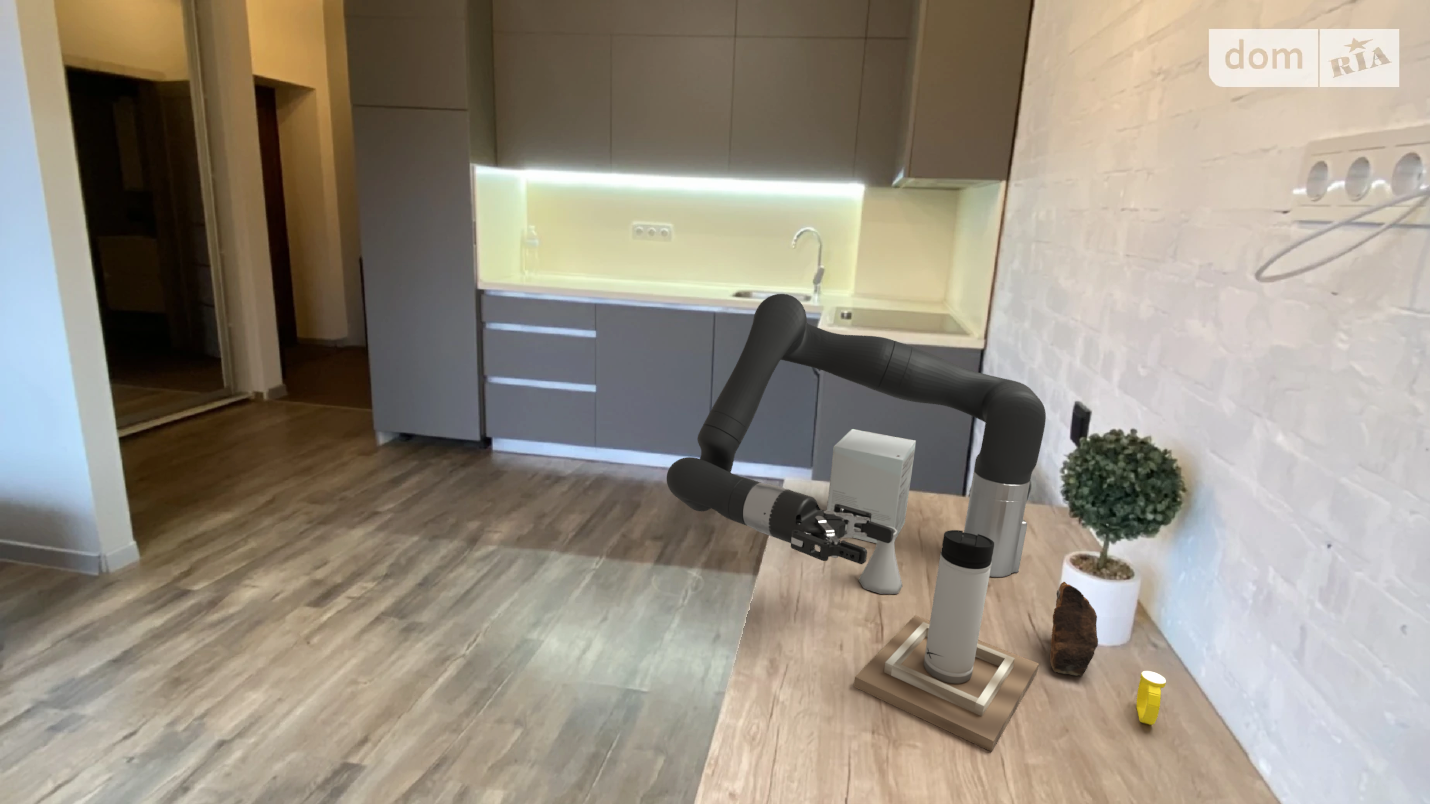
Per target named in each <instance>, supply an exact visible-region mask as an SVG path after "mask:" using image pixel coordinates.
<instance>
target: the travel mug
mask: <svg viewBox="0 0 1430 804" xmlns="http://www.w3.org/2000/svg"><path fill="white" fill-rule="evenodd" d="M993 550H994V542H993V541H992V540H991V539H989V538H988V537H985V536H983V535H980V534H978V535H975V534H971V533H965V532H964V530H958V529H952V530H947V531H944V533H943V538H942V545H941V551H940V555H939V562H938V568H937V574H936V575H937V576H936V581H935V587H934V594H933V599H932V606H931V613H930V620H929V621H930V625H929V631H928V638H927V644H926V651H925V657H924V667H925V669H926V671H927V672H928V673H929V674H930V675H932V676H933V677H935V678H936V679H938V680H940V681H943V682H947V683H953V684H959V683H964V682H966V681H968V680H969V679H970V678H971V676H972V672H973V665H974V660H975V655H976V649H977V643H978V640H979V636H980V631H981V625H982V620H983V615H984V608H985V602H986V597H987V592H988V586H989V580H990V576H989V575H990V567H991V564H992V563H991V561H992V555H993Z"/></svg>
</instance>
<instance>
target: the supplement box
mask: <svg viewBox="0 0 1430 804" xmlns="http://www.w3.org/2000/svg"><path fill="white" fill-rule="evenodd" d="M916 443H917V440H915V439H914V440H913V439H910V438H902V437H898V436H896V437H895V436H891V435H886V434H881V433H876V432H870V431H864V430H860V429H854V428H851V429H850V430H849V431H848V432H847V433H846V434H845V435H844V436H843V437H842V438H841V439H839V441H838V442H837V443H836V444H834V445H833V449H832V458H831V460H832V461H831V469H830V470H831V471H830V476H829V477H830V479H829V487H828V497H827V504H826V506H827V507H826V511H833V510H834V505H835V504H841V505H844V506H848V507H851V508H855V509H858V510H862V511H865V512H869V513H871V514H872V516H871V522H874V523H878V524H881V525H884V526H889V527H893V528H895V529H896V530H897V531H898V532H897V535H896V536H895V540H896V539H897V538H898V536H899V534H900V533H901V530H902V529H903V527H904V525H905V523H906V516H907V508H908V503H909V494H910V486H911V481H912V479H911V478H912V474H913V465H914V458H915V452H916ZM857 517H861V516H857ZM854 529H860V528H856V527H854ZM845 530H847V525H846V526H845ZM852 538H854V539H857V540H860V541H864V542H865V541H866V542H869V543H874V544H877V541H878V540H876V539H873V538H870V537H867V535H854V536H853V537H852ZM852 538H851V539H852Z"/></svg>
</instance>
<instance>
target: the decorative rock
mask: <svg viewBox="0 0 1430 804" xmlns="http://www.w3.org/2000/svg"><path fill="white" fill-rule="evenodd" d="M1066 582H1067V581H1063V582H1061V583H1060V585H1059V587H1058V589H1057V590H1056V600H1055V602H1056V603H1055V608H1054V609H1053V614H1052V624H1053V625H1052V628H1051V635H1050V636H1051V639H1050V655H1049V657H1050V660H1049V661H1050V662H1049V663H1050V666H1051V669H1052V671H1053V672H1054V673H1056V672H1058V673H1057V674H1061V675H1062V674H1063V675H1070V676H1071V675H1072V676H1080V677H1082V676H1083V675H1084V674H1085V672H1086V671H1087V669H1088V666H1089V664H1090V663H1091V661H1092V659H1093V657H1094V655H1095V652H1096V649H1097V648H1098V647H1099V638H1098V632H1097V631H1098V630H1097V620H1098V615H1097V612H1096V610H1095V608H1094V607H1093V606H1092V605H1091V603H1090V601H1089V600H1088V598H1086V597H1085V596H1084V594H1083V593H1082V592H1081V591H1080V590H1079V589H1078V588H1076V587H1074V586H1073V585H1071V584H1068V583H1066Z"/></svg>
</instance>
